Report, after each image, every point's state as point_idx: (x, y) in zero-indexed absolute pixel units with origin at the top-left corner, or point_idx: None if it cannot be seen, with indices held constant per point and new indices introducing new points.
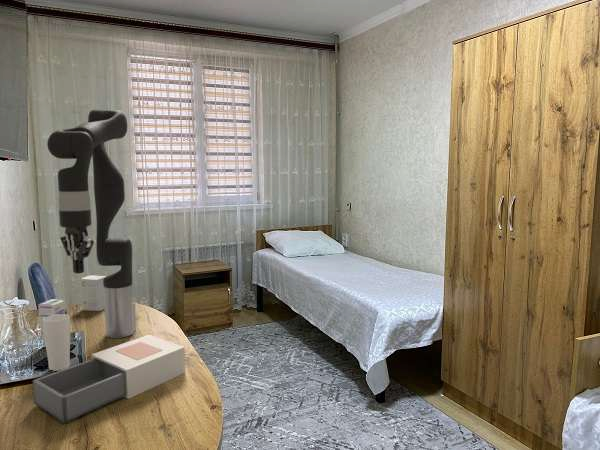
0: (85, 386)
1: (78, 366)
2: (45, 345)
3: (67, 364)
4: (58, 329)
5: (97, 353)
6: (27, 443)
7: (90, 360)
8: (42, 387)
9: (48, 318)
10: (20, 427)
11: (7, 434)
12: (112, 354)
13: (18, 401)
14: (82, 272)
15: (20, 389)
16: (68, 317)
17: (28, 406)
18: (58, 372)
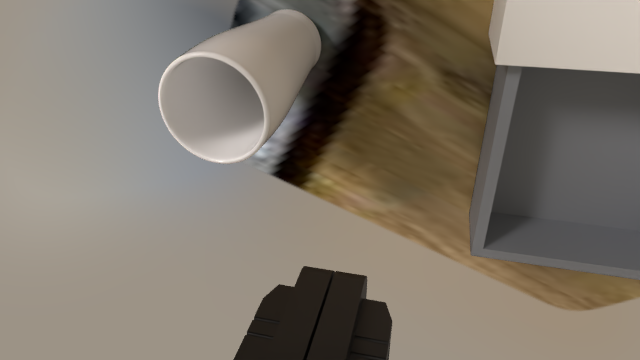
0: (532, 97)
1: (508, 128)
2: None
3: (316, 34)
4: (282, 118)
5: (511, 43)
6: (619, 299)
7: (510, 77)
8: (538, 262)
9: (171, 116)
10: (536, 272)
11: (536, 295)
12: (593, 10)
13: (405, 212)
14: (365, 282)
15: (341, 176)
16: (249, 75)
17: (455, 215)
18: (493, 193)
